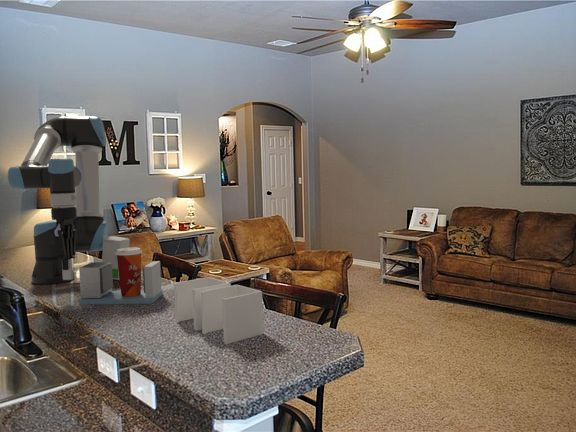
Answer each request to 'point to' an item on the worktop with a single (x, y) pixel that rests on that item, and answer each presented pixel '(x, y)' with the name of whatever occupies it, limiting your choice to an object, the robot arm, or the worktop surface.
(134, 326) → the worktop surface
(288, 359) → the worktop surface
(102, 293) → the block
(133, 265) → the coffee cup
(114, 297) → the base
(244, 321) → the grey rectangular blocks
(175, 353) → the worktop surface
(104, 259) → the skincare box
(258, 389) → the worktop surface
